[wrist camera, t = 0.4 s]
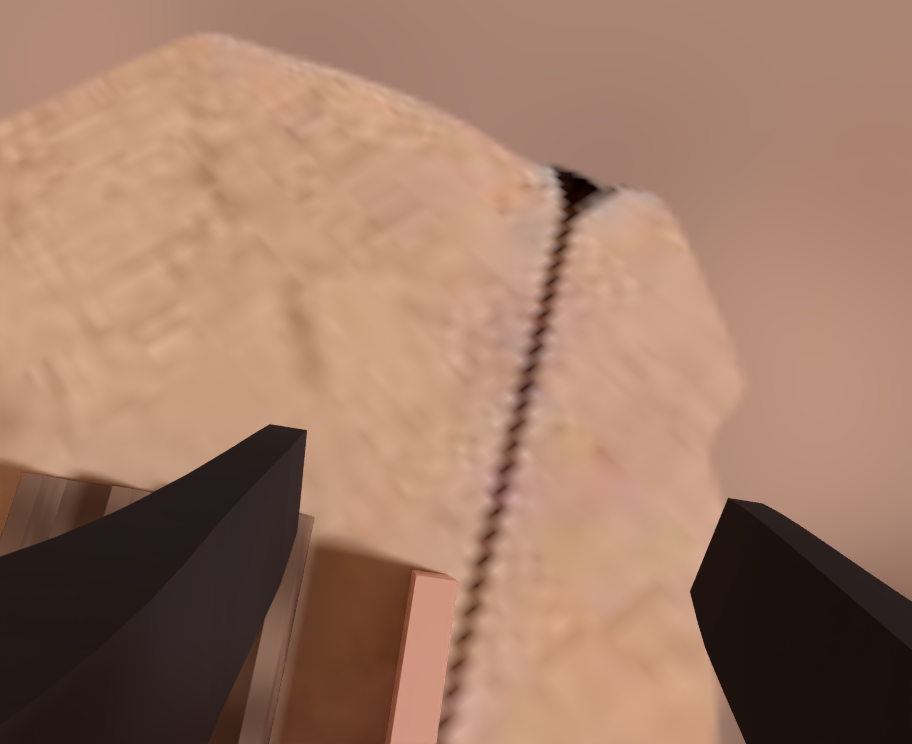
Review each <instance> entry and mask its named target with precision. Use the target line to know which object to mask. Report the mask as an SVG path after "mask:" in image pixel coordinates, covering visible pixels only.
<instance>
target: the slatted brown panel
mask: <svg viewBox="0 0 912 744" xmlns="http://www.w3.org/2000/svg"><path fill="white" fill-rule="evenodd" d="M151 493H152V492H147V491H142V490H137V489H131V488H125V487H118V486H106V485H99V484H93V483H86V482H80V481H73V480H67V479H61V478H56V477H51V476H45V475H39V474H32V473H26V472H23V473H22V476H21V479H20V482H19V485H18V488H17V491H16V494H15V497H14V500H13V503H12V506H11V509H10V512H9V515H8V518H7V521H6V524H5V527H4V530H3V533H2V536H1V539H0V556H3V555H6V554H9V553H11V552H14V551H17V550H20V549H23V548H26V547H29V546H32V545H35V544H37V543H40V542H43V541H46V540H49V539H51V538H54V537H56V536H59V535H61V534H64V533H66V532H69V531H71V530H73V529H76V528H78V527H81V526H83V525H85V524H88V523H90V522H93V521H95V520H97V519H100V518H102V517H104V516H106V515H108V514H111V513H113V512H115V511H117V510H119V509H121V508H124V507H126V506H128V505H130V504H132V503H134V502H136V501H138V500H140V499H141V498H143V497H145V496H147V495H149V494H151ZM313 522H314V517H312V516H308V515H303V514H299V520H298V530H297V535H296V538H295V541H294V544H293V547H292V550H291V554H290V557H289V560H288V563H287V566H286V569H285V572H284V575H283V578H282V581H281V584H280V587H279V589H278V591H277V593H276V595H275V598H274V600H273V602H272V604H271V606H270V608H269V611H268V613H267V615H266V617H265V619H264V621H263V624H262V626H261V628H260V630H259V632H258V634H257V636H256V639H255V641H254V643H253V645H252V647H251V649H250V651H249V654H248V656H247V658H246V660H245V662H244V664H243V666H242V668H241V671H240V673H239V675H238V677H237V679H236V681H235V683H234V686H233V688H232V690H231V692H230V694H229V696H228V698H227V700H226V703H225V705H224V707H223V709H222V711H221V714H220V716H219V718H218V721H217V723H216V725H215V728H214V730H213V733H212V735H211V737H210V740H209V742H208V744H269V740H270V735H271V730H272V725H273V720H274V715H275V710H276V705H277V700H278V695H279V690H280V685H281V680H282V675H283V670H284V665H285V660H286V655H287V650H288V646H289V641H290V636H291V631H292V626H293V621H294V616H295V611H296V606H297V601H298V596H299V591H300V586H301V581H302V576H303V571H304V566H305V561H306V556H307V552H308V547H309V542H310V537H311V532H312V527H313Z"/></svg>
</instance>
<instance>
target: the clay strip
mask: <svg viewBox="0 0 912 744" xmlns="http://www.w3.org/2000/svg"><path fill="white" fill-rule="evenodd" d="M457 586H458V581H457V580H455V579H454V578H452V577H450V576H449V575H446V574H439V573H433V572H426V571H419V570H412V574H411V581H410V587H409V594H408V600H407V606H406V613H405V619H404V626H403V632H402V638H401V645H400V651H399V658H398V664H397V670H396V677H395V683H394V690H393V696H392V702H391V709H390V715H389V722H388V728H387V734H386V741H385V744H436V741H437V733H438V726H439V719H440V711H441V704H442V697H443V689H444V682H445V675H446V667H447V660H448V653H449V645H450V638H451V630H452V623H453V616H454V608H455V601H456V594H457Z"/></svg>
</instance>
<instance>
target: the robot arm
mask: <svg viewBox="0 0 912 744" xmlns="http://www.w3.org/2000/svg"><path fill="white" fill-rule="evenodd" d="M306 435H307V430H302V429H296V428H290V427H284V426H278V425H271V424H270V425H268V426H266V427H264V428H263V429H261V430H259V431H258V432H256V433H254V434H253V435H251V436H250V437H248V438H246V439H245V440H243V441H242V442H240V443H238V444H237V445H235V446H234V447H232V448H230V449H229V450H227V451H226V452H224V453H222V454H221V455H219V456H217V457H216V458H214V459H212V460H211V461H209V462H207V463H206V464H204V465H202V466H200V467H199V468H197V469H195V470H194V471H192V472H190V473H189V474H187V475H185V476H183V477H181V478H179V479H177V480H176V481H174V482H172V483H170V484H168V485H166V486H164V487H162V488H160V489H159V490H157V491H155V492H153V493H151V494H149V495H147V496H145V497H143V498H141V499H140V500H138V501H136V502H134V503H132V504H130V505H128V506H126V507H124V508H121V509H119V510H117V511H115V512H113V513H111V514H108V515H106V516H104V517H102V518H100V519H97V520H95V521H93V522H90V523H88V524H85V525H83V526H81V527H78V528H76V529H73V530H71V531H69V532H66V533H64V534H61V535H59V536H56V537H54V538H51V539H49V540H46V541H43V542H40V543H37V544H35V545H32V546H29V547H26V548H23V549H20V550H17V551H14V552H11V553H9V554H6V555H3V556H0V744H208V742H209V740H210V737H211V735H212V733H213V730H214V728H215V725H216V723H217V721H218V718H219V716H220V714H221V711H222V709H223V707H224V705H225V703H226V700H227V698H228V696H229V694H230V692H231V690H232V688H233V686H234V683H235V681H236V679H237V677H238V675H239V673H240V671H241V668H242V666H243V664H244V662H245V660H246V658H247V656H248V654H249V651H250V649H251V647H252V645H253V643H254V641H255V639H256V636H257V634H258V632H259V630H260V628H261V626H262V624H263V621H264V619H265V617H266V615H267V613H268V611H269V608H270V606H271V604H272V602H273V600H274V598H275V595H276V593H277V591H278V589H279V587H280V584H281V581H282V578H283V575H284V572H285V569H286V566H287V563H288V560H289V557H290V554H291V550H292V547H293V544H294V541H295V538H296V535H297V530H298V520H299V509H300V499H301V488H302V478H303V467H304V457H305V446H306ZM690 593H691V597H692V601H693V605H694V609H695V613H696V617H697V621H698V625H699V628H700V632H701V635H702V638H703V642H704V645H705V648H706V651H707V653H708V656H709V658H710V661H711V663H712V666H713V668H714V670H715V673H716V675H717V677H718V680H719V682H720V685H721V687H722V689H723V692H724V694H725V696H726V699H727V701H728V703H729V706H730V708H731V710H732V712H733V714H734V717H735V719H736V721H737V724H738V726H739V728H740V731H741V733H742V735H743V738H744V740H745V742H746V744H912V602H911V601H910V600H908V599H907V598H905V597H904V596H902V595H901V594H899V593H898V592H896V591H895V590H893V589H892V588H890V587H889V586H888V585H886V584H884V583H883V582H882V581H880V580H879V579H877V578H876V577H874V576H873V575H871V574H870V573H868V572H867V571H865V570H864V569H863V568H861V567H860V566H858V565H857V564H855V563H854V562H852V561H851V560H850V559H848V558H847V557H845V556H843V555H842V554H841V553H839V552H838V551H837V550H835V549H833V548H832V547H831V546H829V545H828V544H826V543H825V542H823V541H822V540H821V539H819V538H818V537H816V536H815V535H813V534H812V533H810V532H809V531H807V530H806V529H804V528H803V527H801V526H800V525H798V524H797V523H795V522H793V521H792V520H790V519H789V518H787V517H786V516H784V515H782V514H781V513H779V512H777V511H776V510H774V509H772V508H770V507H768V506H766V505H764V504H762V503H756V502H749V501H743V500H737V499H731V498H728V500H727V502H726V505H725V507H724V509H723V512H722V514H721V517H720V519H719V522H718V524H717V527H716V529H715V532H714V534H713V536H712V539H711V541H710V544H709V546H708V549H707V551H706V554H705V556H704V559H703V561H702V563H701V566H700V568H699V571H698V573H697V576H696V578H695V581H694V583H693V586H692V588H691V590H690Z"/></svg>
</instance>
